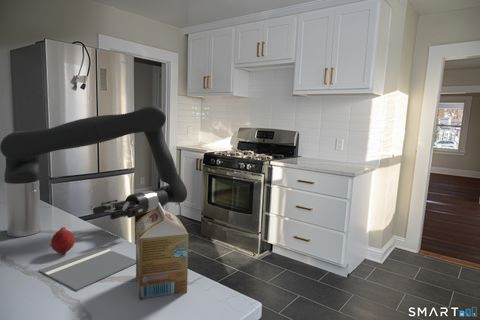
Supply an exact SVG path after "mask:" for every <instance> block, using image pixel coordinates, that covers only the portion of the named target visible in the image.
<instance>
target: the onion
mask: <svg viewBox="0 0 480 320" xmlns="http://www.w3.org/2000/svg"><path fill="white" fill-rule="evenodd" d="M66 228H67V227H66V226H61V227H60V229H59V230H58V231H57V232H55V233H54V235H52V237H51V240H50V246H51V248H52V250H53V251H54V252H55V253H58V254H61V255H65V254H66V253H68V252H69V251H70V250H71V249H72V248H73V247H74V246H75V242H76V241H75V240H76V239H75V236H74V234H73V233H72V232H71V231H69V230H67V229H66Z"/></svg>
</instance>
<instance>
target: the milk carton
mask: <svg viewBox="0 0 480 320" xmlns="http://www.w3.org/2000/svg"><path fill="white" fill-rule="evenodd" d="M189 235H190V234H189V233H188V231H187V229H186V227H185V226H184V224H183V222H182V221H181V220H180V218H178V217H177V215H175V214H173V213H171V212H169V211H168V210H165V209H164V208H163V206H161V204H160V203H159V202H158V208H156V209H154V210H152V211H149V212H147V213H145V215H143V216H141V218H139V219H138V220H137V221H136V223H135V260H136V264H135V280H136V287H137V295H138V300H139V301H143V300H144V301H145V300H149V299H155V298H160V297H167V296H173V295H179V294H185V293H188V271H189V268H188V267H189V265H188V264H189Z"/></svg>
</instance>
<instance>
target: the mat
mask: <svg viewBox="0 0 480 320" xmlns="http://www.w3.org/2000/svg"><path fill="white" fill-rule="evenodd" d="M134 265H135V266H136V258H132V257H129V256H127V255H125V254H121V253H119V252H116V251H115V250H112V249H110V248H105V247H103V246H102V247H99V248H96V249H93V250H90V251H87V252H85V253H82V254H80V255H77V256H74V257H71V258H68V259H66V260H65V259H64V260H63V261H60V262H58V263H54V264H52V265H49V266H47V267H44V268H40V269H39V270H38V271H39V272H40V273H42V274H43V275H46V276H47V277H49V278H51V279H53V280H55V281H56V282H58V283H61V284H62V285H64V286H66V287H67V288H70V289H71V290H74V291H75V292H78V291H80V290H83V289H84V288H86V287H87V288H88V286H89V287H90V286H91V285H93V284H96V283H98V282H99V281H102V280H104V279H106V278H109V277H111V276H113V275H115V274H118V273H119V272H121V271H123V270H126V269H128V268H130V267H132V266H134Z"/></svg>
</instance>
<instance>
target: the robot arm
mask: <svg viewBox="0 0 480 320" xmlns="http://www.w3.org/2000/svg"><path fill="white" fill-rule="evenodd" d="M166 117H167V116H166V113H165V111H163V109H161V108H160V107H158V106H156V105H144V106H142V107H141V108H140V109H137V110H134V111H131V112H127V113H121V114H120V113H119V114H104V115H96V116H90V117H89V116H88V117H85V118H81V119H80V118H79V119H76V120H73V121H69V122H66V123H62V124H60V125H56V126H54V127H51V128H45V129H40V130H39V129H37V130H32V131H31V130H30V131H23V130H18V131H14V132H11V133H8V134H7V135H5V136H4V138H2V140H1V142H0V152H1V154H2V156H3V157H5V171H4V174H3V175H4V192H5V213H6V214H5V215H6V233H7V234H6V235H7V236H9V237H14V238H15V237H16V238H18V237H27V236H31V235H35V234H37V233H39V232H41V230H42V227H41V226H42V224H41V223H42V222H41V221H42V220H41V199H40V198H41V196H40V191H41V190H40V156H42V155H46V154H49V153H53V152H57V151H62V150H69V149H76V148H82V147H87V146H93V145H96V144H101V143H104V142H108V141H112V140H115V139H119V138H121V137H124V136H127V135H132V134H138V133H144V135H145V137H146V140H147V143H148V145H149V147H150V151H151V154H152V157H153V160H154V164H155V167H156V171H157V173H158V177H159V179H160V181H161V182H162V183H165V184H166V185H164V186H161V187H159V188H156V189H152V190H144V191H141V192H136V193H132V194H129V195H128V196H126V199H125V200H119V201H118V199H113V200H109V201H105V202H101V203H100V205H99V206H95V207H93V209H92V213H93V215H99V214H103V213H107V212H110V213H109V218H110V220H116V219H118V218H126V217H127V218H129V219H130V218H133V217H134V218H135V217H136V216H140V215H143V214H147V213H149V212H151V211H153V210H154V209H156V208H158V202H159V203H160V204H161V206H162V207H164V206H166V205H167V204H168V203H171V204H172V203H174V204H175V203H176V204H177V203H178V204H181V203H183V202H185V201H186V200H187V196H188V189H187V187H186V185H185V184H184V181H183V180H182V178H181V176H180V175H179V174H178V173H179V172H178V170H177V167H176V165H175V164H176V163H175V162H174V157H173V156H172V153H171V152H170V151H171V150H170V149H169V147H168V145H167V143H166V140H165V137H164V134H163V133H164V132H163V130H162V129H163V127H164V125H165V123H166V122H167V121H166V120H167V118H166Z"/></svg>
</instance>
